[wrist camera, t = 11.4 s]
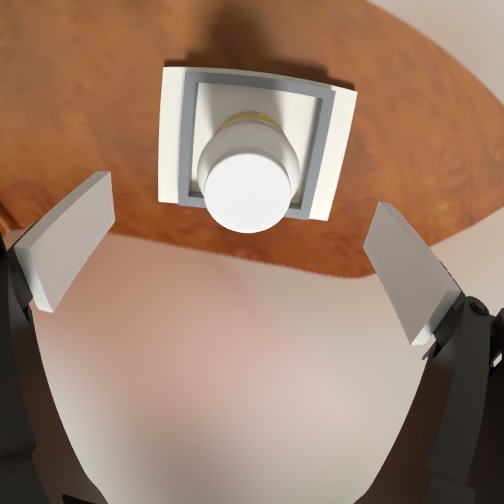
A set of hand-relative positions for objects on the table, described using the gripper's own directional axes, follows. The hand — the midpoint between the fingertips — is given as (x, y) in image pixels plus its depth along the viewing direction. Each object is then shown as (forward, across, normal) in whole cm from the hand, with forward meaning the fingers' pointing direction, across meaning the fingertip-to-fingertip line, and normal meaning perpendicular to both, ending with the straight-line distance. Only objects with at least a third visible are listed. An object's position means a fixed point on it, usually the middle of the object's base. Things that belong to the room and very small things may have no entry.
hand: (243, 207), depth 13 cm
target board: (+16, 0, 0) cm, 16 cm away
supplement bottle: (+15, 0, 0) cm, 15 cm away
